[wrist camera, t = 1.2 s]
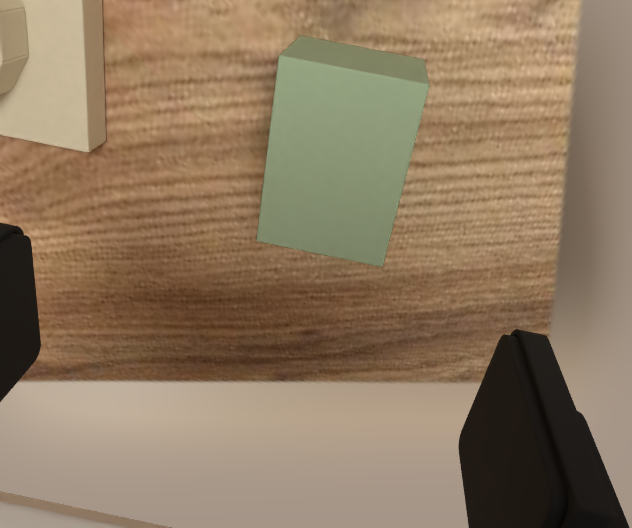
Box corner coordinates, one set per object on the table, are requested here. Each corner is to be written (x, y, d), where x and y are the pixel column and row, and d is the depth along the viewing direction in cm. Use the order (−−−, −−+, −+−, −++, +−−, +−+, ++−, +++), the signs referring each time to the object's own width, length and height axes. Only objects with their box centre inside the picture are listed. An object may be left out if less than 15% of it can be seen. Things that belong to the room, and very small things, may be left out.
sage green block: (424, 59, 22) (429, 84, 18) (385, 218, 26) (382, 267, 22) (299, 34, 22) (278, 54, 19) (277, 196, 26) (255, 241, 22)
